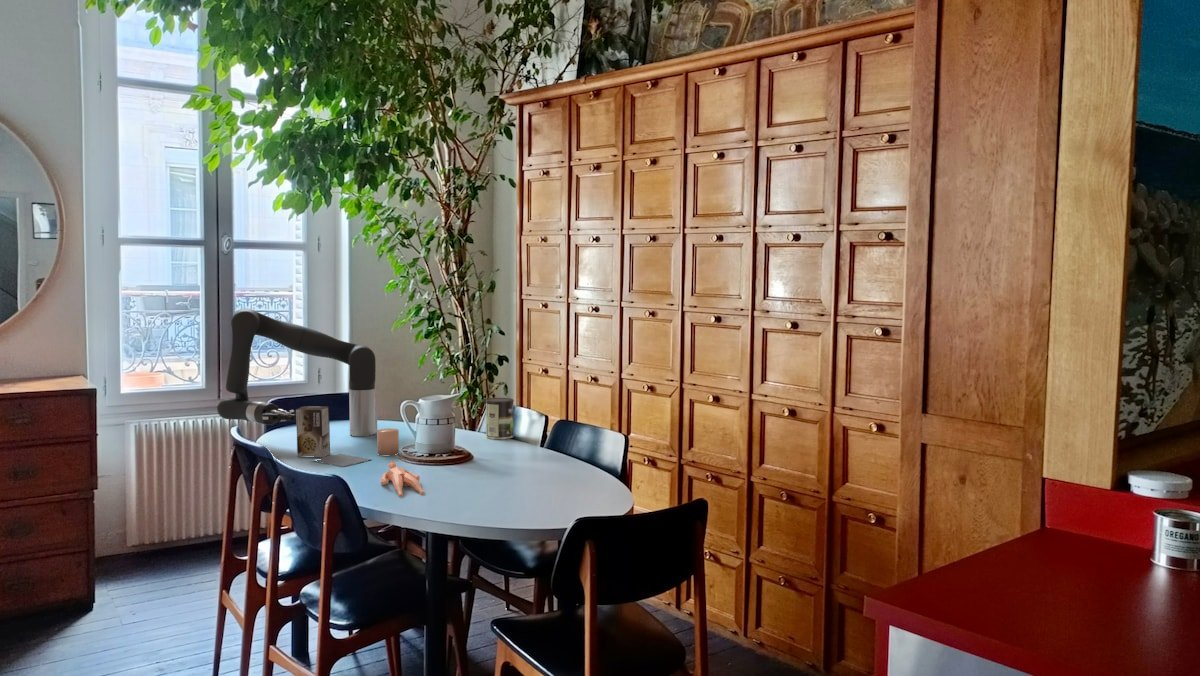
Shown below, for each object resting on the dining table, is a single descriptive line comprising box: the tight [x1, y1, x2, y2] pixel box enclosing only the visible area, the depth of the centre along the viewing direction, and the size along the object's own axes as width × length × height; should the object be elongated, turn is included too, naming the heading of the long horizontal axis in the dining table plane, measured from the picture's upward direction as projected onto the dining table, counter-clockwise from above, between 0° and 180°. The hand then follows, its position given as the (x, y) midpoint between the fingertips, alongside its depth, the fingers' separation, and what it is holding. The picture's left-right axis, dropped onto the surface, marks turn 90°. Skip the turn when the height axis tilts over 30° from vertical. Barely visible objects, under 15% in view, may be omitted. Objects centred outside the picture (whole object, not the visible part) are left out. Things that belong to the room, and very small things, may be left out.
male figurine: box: [380, 460, 426, 498], centre depth 250 cm, size 11×5×25 cm
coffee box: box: [295, 405, 331, 458], centre depth 287 cm, size 9×6×16 cm
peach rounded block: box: [376, 427, 400, 456], centre depth 291 cm, size 7×7×8 cm
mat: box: [317, 453, 372, 468], centre depth 280 cm, size 12×15×1 cm
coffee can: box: [485, 397, 514, 440], centre depth 321 cm, size 10×10×14 cm
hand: (295, 418), depth 291 cm, fingers closed
